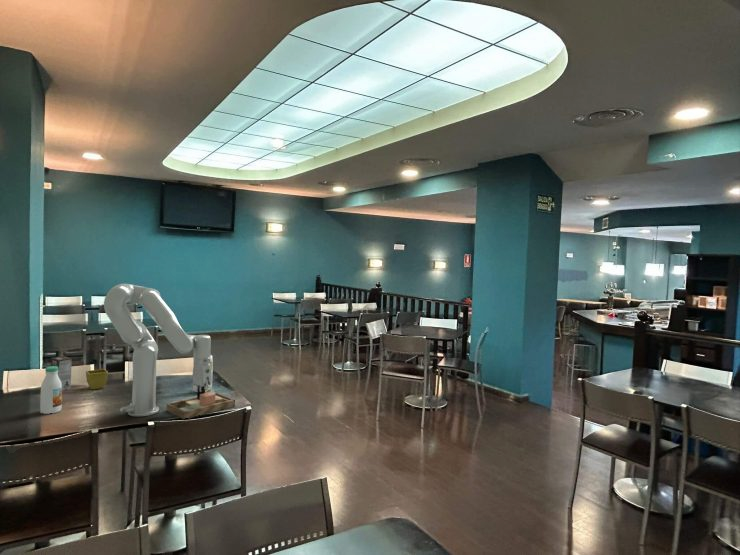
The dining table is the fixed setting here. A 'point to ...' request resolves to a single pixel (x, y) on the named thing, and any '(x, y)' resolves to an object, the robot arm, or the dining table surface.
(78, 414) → the dining table surface
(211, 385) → the juice carton
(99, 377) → the flower pot
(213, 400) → the block
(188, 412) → the tray
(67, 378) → the coffee box
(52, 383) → the milk bottle
